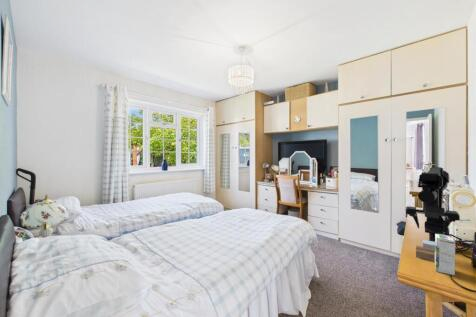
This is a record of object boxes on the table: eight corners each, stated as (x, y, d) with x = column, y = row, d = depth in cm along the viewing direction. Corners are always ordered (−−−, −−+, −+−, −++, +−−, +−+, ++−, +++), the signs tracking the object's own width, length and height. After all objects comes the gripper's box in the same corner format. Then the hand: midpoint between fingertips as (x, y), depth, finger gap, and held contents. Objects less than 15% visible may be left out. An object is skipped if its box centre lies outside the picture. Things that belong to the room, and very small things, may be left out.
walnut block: (416, 252, 105) (416, 245, 104) (435, 256, 100) (435, 249, 100) (416, 257, 99) (415, 250, 99) (436, 262, 95) (436, 255, 95)
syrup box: (434, 265, 92) (434, 233, 92) (453, 269, 88) (453, 236, 88) (435, 271, 88) (435, 237, 87) (456, 276, 84) (455, 240, 83)
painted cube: (422, 249, 107) (422, 239, 107) (436, 251, 104) (436, 242, 104) (422, 252, 103) (422, 243, 103) (436, 255, 100) (436, 245, 100)
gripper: (405, 200, 100) (406, 231, 101) (461, 205, 88) (462, 241, 89) (405, 195, 109) (406, 224, 109) (457, 199, 96) (457, 232, 97)
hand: (431, 230), depth 101 cm, fingers open, 9 cm apart
